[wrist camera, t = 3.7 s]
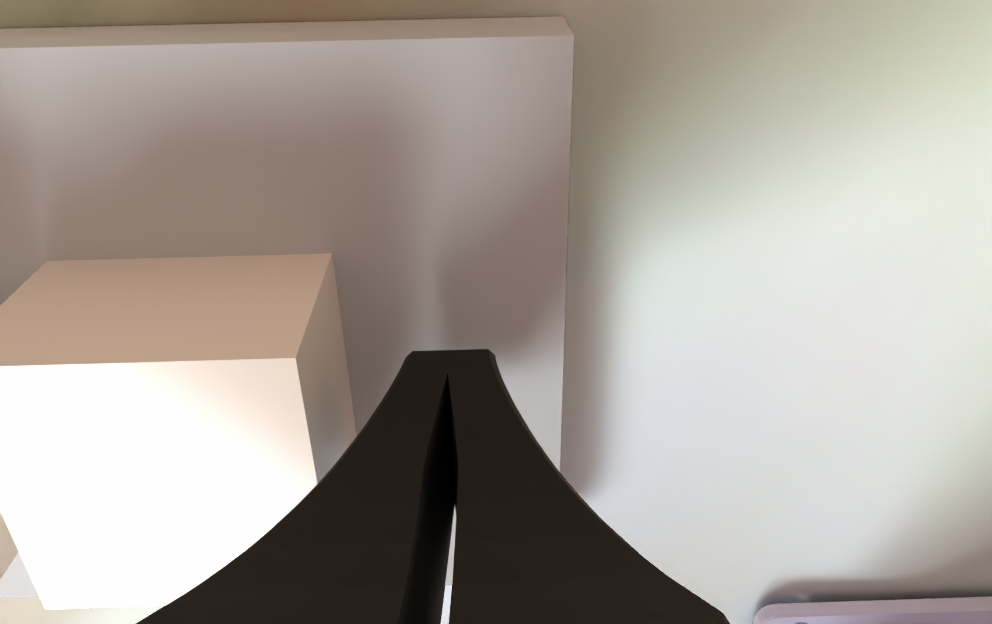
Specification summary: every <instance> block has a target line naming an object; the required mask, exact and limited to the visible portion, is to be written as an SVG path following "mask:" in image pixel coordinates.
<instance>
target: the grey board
mask: <svg viewBox="0 0 992 624" xmlns="http://www.w3.org/2000/svg"><path fill="white" fill-rule="evenodd" d="M573 58H574V34H573V32H572V31H571V29H570V27H569V25H568V24H567V22H566V20H565V18H564V17H563V16H550V17H504V18H459V19H413V20H368V21H322V22H277V23H231V24H186V25H140V26H95V27H49V28H4V29H0V306H1V305H2V304H3V303H4V302H5V301H6V300H7V299H8V298H9V297H10V296H11V295H12V294H13V293H14V292H15V291H16V290H17V289H18V288H19V287H20V286H21V285H22V284H23V283H24V282H26V281H27V280H28V279H29V278H30V277H31V276H32V275H33V274H34V273H35V272H36V271H37V270H38V269H39V268H40V267H41V266H42V265H43V264H44V263H45V262H46V261H63V260H101V259H139V258H176V257H214V256H252V255H290V254H328V253H332V257H333V264H334V271H335V279H336V286H337V294H338V301H339V308H340V316H341V323H342V330H343V338H344V345H345V353H346V360H347V367H348V375H349V382H350V390H351V397H352V404H353V412H354V419H355V427H356V434H357V435H358V434H359V433H360V431H361V430H362V429H363V427H364V426H365V424H366V423H367V422H368V420H369V419H370V417H371V416H372V414H373V413H374V411H375V410H376V408H377V407H378V405H379V404H380V402H381V401H382V399H383V398H384V396H385V394H386V393H387V391H388V389H389V388H390V386H391V385H392V383H393V381H394V379H395V378H396V376H397V374H398V372H399V370H400V368H401V366H402V364H403V362H404V360H405V358H406V356H408V355H409V354H410V353H411V352H412V351H431V350H469V349H489V350H490V351H491V352H492V353H493V354H494V355H495V357H496V362H497V365H498V368H499V371H500V374H501V376H502V379H503V381H504V383H505V385H506V387H507V390H508V392H509V394H510V396H511V398H512V400H513V402H514V403H515V405H516V407H517V409H518V411H519V412H520V414H521V416H522V417H523V419H524V421H525V422H526V424H527V426H528V428H529V429H530V431H531V432H532V434H533V435H534V437H535V439H536V440H537V442H538V443H539V444H540V446H541V447H542V449H543V450H544V452H545V453H546V454H547V456H548V457H549V459H550V460H551V461H552V463H553V464H554V465H555V467H556V468H557V469H558V471H559V472H560V454H561V424H562V393H563V363H564V332H565V302H566V271H567V241H568V210H569V180H570V149H571V119H572V88H573ZM455 531H456V510H455V507H454V516H453V524H452V533H451V541H450V549H449V557H448V566H447V574H446V582H445V585H452V580H453V564H454V549H455ZM36 598H40V597H39V595H38V593H37V590H36V588H35V586H34V584H33V582H32V579H31V577H30V575H29V573H28V571H27V569H26V566H25V564H24V562H23V560H22V558H21V555H20V553H19V552H18V554H17V555H16V557H15V558H14V560H13V561H12V563H11V564H10V566H9V567H8V569H7V570H6V572H5V574H4V575H3V577H2V578H1V580H0V600H6V599H36Z"/></svg>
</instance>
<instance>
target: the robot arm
mask: <svg viewBox="0 0 992 624" xmlns="http://www.w3.org/2000/svg"><path fill="white" fill-rule="evenodd" d="M454 507H455V510H456V531H455V549H454V564H453V580H452V593H451V605H450V617H449V624H730V623H729V622H728V620H727V618H726V617H725V615H724V614H723V613H722V612H721V611H719V610H718V609H716V608H715V607H713V606H712V605H710V604H709V603H707V602H706V601H704V600H703V599H701V598H700V597H698V596H697V595H695V594H694V593H692V592H691V591H689V590H688V589H686V588H685V587H683V586H682V585H680V584H679V583H677V582H676V581H674V580H673V579H671V578H670V577H668V576H667V575H665V574H664V573H663V572H661V571H660V570H659V569H658V568H656V567H655V566H654V565H653V564H651V563H650V562H649V561H647V560H646V559H645V558H644V557H642V556H641V555H640V554H639V553H638V552H637V551H636V550H635V549H634V548H632V547H631V546H630V545H629V544H628V543H627V542H626V541H625V540H624V539H623V538H621V537H620V536H619V535H618V534H617V533H616V532H615V531H614V530H613V529H612V528H611V527H609V526H608V525H607V524H606V523H605V522H604V521H603V520H602V519H601V518H600V517H599V516H598V515H597V514H596V513H595V512H594V511H593V510H592V509H591V508H590V507H589V505H588V504H587V503H586V502H585V501H584V500H583V499H582V498H581V497H580V496H579V495H578V493H577V492H576V491H575V490H574V489H573V488H572V486H571V485H570V484H569V483H568V482H567V481H566V479H565V478H564V477H563V476H562V474H561V473H560V472H559V471H558V469H557V468H556V467H555V465H554V464H553V463H552V461H551V460H550V459H549V457H548V456H547V454H546V453H545V452H544V450H543V449H542V447H541V446H540V444H539V443H538V442H537V440H536V439H535V437H534V435H533V434H532V432H531V431H530V429H529V428H528V426H527V424H526V422H525V421H524V419H523V417H522V416H521V414H520V412H519V411H518V409H517V407H516V405H515V403H514V402H513V400H512V398H511V396H510V394H509V392H508V390H507V387H506V385H505V383H504V381H503V379H502V376H501V374H500V371H499V368H498V365H497V362H496V357H495V355H494V354H493V353H492V352H491V351H490V350H489V349H469V350H431V351H412V352H411V353H410V354H409V355H408V356H406V358H405V360H404V362H403V364H402V366H401V368H400V370H399V372H398V374H397V376H396V378H395V379H394V381H393V383H392V385H391V386H390V388H389V389H388V391H387V393H386V394H385V396H384V398H383V399H382V401H381V402H380V404H379V405H378V407H377V408H376V410H375V411H374V413H373V414H372V416H371V417H370V419H369V420H368V422H367V423H366V424H365V426H364V427H363V429H362V430H361V431H360V433H359V434H358V435H357V437H356V438H355V439H354V441H353V442H352V443H351V444H350V446H349V447H348V448H347V449H346V451H345V452H344V453H343V454H342V456H341V457H340V458H339V460H338V461H337V462H336V463H335V464H334V466H333V467H332V468H331V469H330V470H329V471H328V473H327V474H326V475H325V476H324V477H323V478H322V479H321V480H320V482H319V483H318V484H317V485H316V486H315V487H314V488H313V489H312V490H311V491H310V492H309V493H308V494H307V495H306V496H305V497H304V498H303V499H302V500H301V501H300V502H299V503H298V504H297V505H296V506H295V507H294V508H293V509H292V510H291V511H290V512H289V513H288V514H287V515H286V516H285V517H283V518H282V519H281V520H280V521H279V522H278V523H277V524H276V525H275V526H274V527H273V528H272V529H271V530H269V531H268V532H267V533H266V534H265V535H264V536H263V537H261V538H260V539H259V540H258V541H257V542H255V543H254V544H253V545H252V546H251V547H249V548H248V549H247V550H246V551H244V552H243V553H242V554H240V555H239V556H238V557H236V558H235V559H234V560H232V561H231V562H230V563H228V564H227V565H226V566H224V567H223V568H222V569H220V570H219V571H217V572H216V573H215V574H213V575H212V576H210V577H209V578H208V579H206V580H205V581H203V582H202V583H200V584H199V585H197V586H196V587H194V588H193V589H191V590H190V591H188V592H187V593H185V594H184V595H182V596H180V597H179V598H177V599H176V600H174V601H172V602H171V603H169V604H167V605H166V606H164V607H162V608H161V609H159V610H158V611H156V612H154V613H153V614H151V615H149V616H148V617H146V618H145V619H143V620H141V621H140V622H138V623H136V624H440V623H441V615H442V607H443V598H444V590H445V582H446V574H447V566H448V557H449V549H450V541H451V533H452V524H453V516H454ZM752 624H992V596H990V597H960V598H930V599H900V600H870V601H840V602H810V603H780V604H771V605H767V606H765V607H763V608H761V609H760V610H759V611H758V612H757V613H756V615H755V617H754V618H753V623H752Z"/></svg>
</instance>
